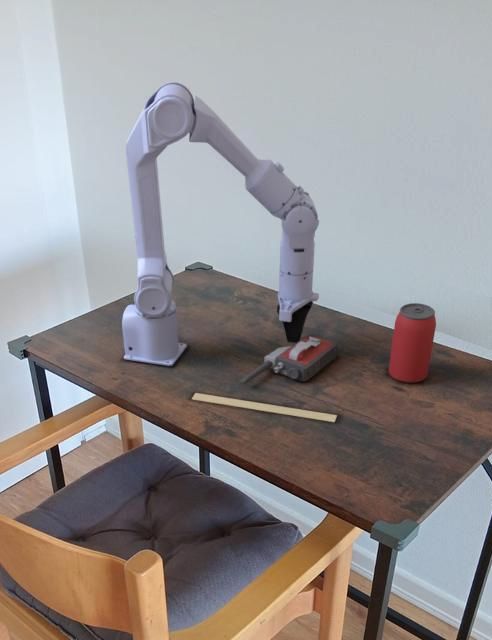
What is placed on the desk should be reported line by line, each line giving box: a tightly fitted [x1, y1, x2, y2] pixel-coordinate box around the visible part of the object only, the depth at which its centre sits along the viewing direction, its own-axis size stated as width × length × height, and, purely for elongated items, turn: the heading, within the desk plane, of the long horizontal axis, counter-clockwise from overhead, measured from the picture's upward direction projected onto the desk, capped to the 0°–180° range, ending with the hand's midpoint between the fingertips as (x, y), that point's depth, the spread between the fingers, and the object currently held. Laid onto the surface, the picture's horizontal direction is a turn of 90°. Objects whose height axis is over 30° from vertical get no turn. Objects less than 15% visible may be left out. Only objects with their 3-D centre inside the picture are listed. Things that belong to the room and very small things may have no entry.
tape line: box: [191, 392, 338, 423], centre depth 122 cm, size 24×2×1 cm, turn 71°
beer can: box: [388, 302, 437, 384], centre depth 125 cm, size 7×7×12 cm
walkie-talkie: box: [241, 333, 338, 385], centre depth 130 cm, size 9×4×20 cm
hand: (293, 341), depth 136 cm, fingers closed, pressing on walkie-talkie
